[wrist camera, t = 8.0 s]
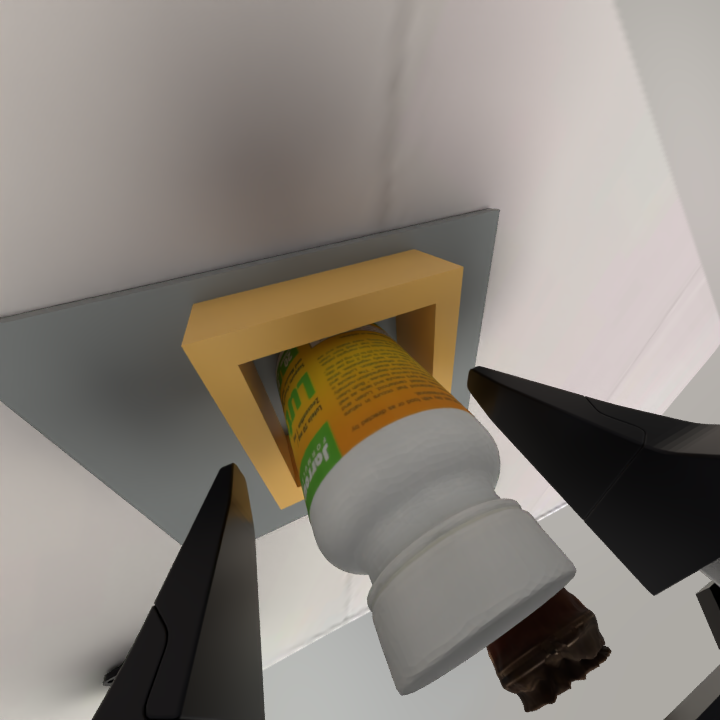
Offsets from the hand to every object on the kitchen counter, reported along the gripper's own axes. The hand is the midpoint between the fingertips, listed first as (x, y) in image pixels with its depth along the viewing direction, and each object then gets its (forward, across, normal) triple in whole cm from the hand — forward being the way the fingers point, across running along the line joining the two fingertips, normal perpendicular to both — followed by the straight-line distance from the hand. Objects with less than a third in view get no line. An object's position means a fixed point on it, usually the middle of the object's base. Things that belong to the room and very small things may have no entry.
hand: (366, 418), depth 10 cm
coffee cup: (+4, -9, +23) cm, 25 cm away
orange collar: (+4, 0, 0) cm, 4 cm away
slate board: (+4, +1, +3) cm, 5 cm away
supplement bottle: (+4, 0, 0) cm, 4 cm away
